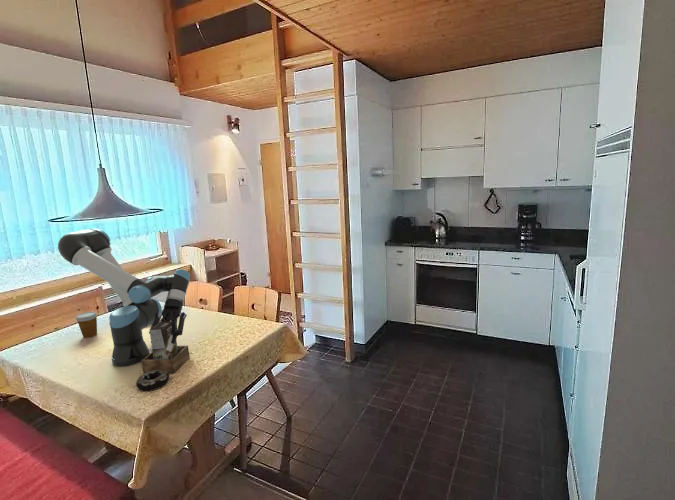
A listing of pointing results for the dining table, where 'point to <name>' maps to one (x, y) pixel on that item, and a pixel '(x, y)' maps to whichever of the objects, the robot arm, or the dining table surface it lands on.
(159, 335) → the coffee box
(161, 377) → the donut
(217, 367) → the dining table surface
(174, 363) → the open wooden box
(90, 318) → the disposable coffee cup
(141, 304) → the robot arm
